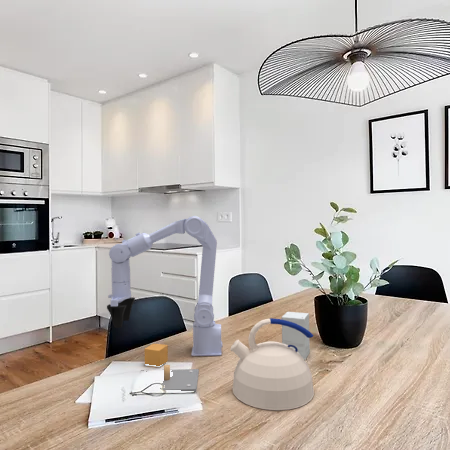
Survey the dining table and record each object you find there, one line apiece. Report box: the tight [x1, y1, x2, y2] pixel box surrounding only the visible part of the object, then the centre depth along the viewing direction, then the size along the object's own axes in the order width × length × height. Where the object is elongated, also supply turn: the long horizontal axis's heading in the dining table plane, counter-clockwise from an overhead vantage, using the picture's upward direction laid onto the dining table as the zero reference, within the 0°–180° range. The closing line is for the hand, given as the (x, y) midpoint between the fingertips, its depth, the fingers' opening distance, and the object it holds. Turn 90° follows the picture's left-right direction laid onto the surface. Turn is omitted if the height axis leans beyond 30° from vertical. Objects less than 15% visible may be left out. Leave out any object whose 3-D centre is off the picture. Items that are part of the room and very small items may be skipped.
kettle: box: [230, 317, 315, 411], centre depth 91 cm, size 20×21×18 cm
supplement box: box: [280, 311, 311, 361], centre depth 114 cm, size 7×7×13 cm
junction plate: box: [140, 364, 200, 393], centre depth 95 cm, size 16×12×4 cm
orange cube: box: [143, 343, 169, 366], centre depth 108 cm, size 5×5×5 cm
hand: (122, 323), depth 116 cm, fingers open, 7 cm apart
